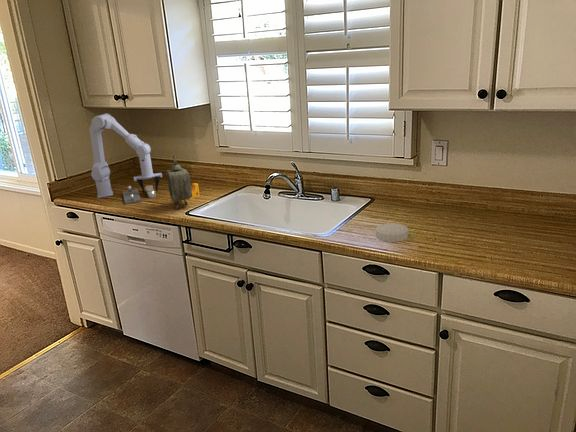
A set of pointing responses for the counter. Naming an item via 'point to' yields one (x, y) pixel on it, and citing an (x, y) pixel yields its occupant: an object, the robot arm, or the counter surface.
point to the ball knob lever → (150, 191)
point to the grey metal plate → (131, 196)
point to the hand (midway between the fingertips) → (150, 191)
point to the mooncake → (391, 232)
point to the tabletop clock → (179, 183)
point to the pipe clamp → (194, 191)
